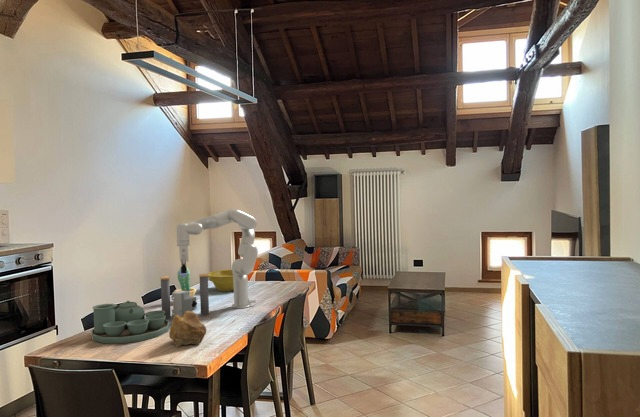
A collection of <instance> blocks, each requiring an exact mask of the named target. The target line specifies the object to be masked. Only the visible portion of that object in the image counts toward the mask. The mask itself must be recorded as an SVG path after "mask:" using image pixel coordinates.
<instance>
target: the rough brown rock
mask: <svg viewBox="0 0 640 417" xmlns="http://www.w3.org/2000/svg"><path fill="white" fill-rule="evenodd" d="M169 328H170V329H169V338H170V339H171V340H172V341H173V344H174V345H175V346H176V347H180V346H183V345H184V346H187V345H189V344H192V345H197V346H198V345H199V344H201V343H202V341H203V339H204V337H205V336H206V335H207V327H206V325H204V324H203V323H202V321H201V319H200V318H199V316H198V315H197V313H196V312H194V311H186V312H184V314H183V316H182V317H180V316H178V315H175V316H174V317H172V321H171V325H170V327H169Z"/></svg>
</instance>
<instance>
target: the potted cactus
mask: <svg viewBox="0 0 640 417" xmlns="http://www.w3.org/2000/svg"><path fill="white" fill-rule="evenodd" d="M186 268H187V273H181V266H180V268H179V269H178V271H177V280H178V282H179V285H180V288H177V289H175V290H174V291H173V292H176V291H189V292H190V297H195V294H196V292H197V289H196V288H192V287H191V283H190V282H191V281H190V280H191V271H190V269H189V268H188V267H187V265H186Z"/></svg>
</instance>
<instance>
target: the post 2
mask: <svg viewBox="0 0 640 417" xmlns="http://www.w3.org/2000/svg"><path fill="white" fill-rule="evenodd" d="M198 276H199V300H200V301H199V302H200V316H208V315H210V305H209V304H210V302H209V278H208V274H207V273H201V274H199V275H198Z"/></svg>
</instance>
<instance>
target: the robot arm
mask: <svg viewBox="0 0 640 417" xmlns="http://www.w3.org/2000/svg"><path fill="white" fill-rule="evenodd" d="M230 223H232V224H233V223H236V224H237V225H238V227H239V228H240V230H241V233H242V235H241V240H240V243H239V246H238V250H237V254H238V256H240V257H241V258H236V259H234V261H233V262H232V265H231V270H232V272H233V281H234V290H233V304H232V305H231V308H233V309H245V308H250V307H251V306H252V304H255V303H256V299H250V298H249V278H248V275H251V273H252V272H253V270H254V269H255V265H256V261H257V258H258V256H259V255H258V253H259V252H258V251H259V250H258V248H257V246H256V245H255V244H254V243H255V238H256V231H255V228H256V227H257V226H258V220H257V219H256V218H255V217H253V216H252V215H249V214H248V213H246V212H244V211H242V210H240V209H237V208H236V209H235V208H233V209H232V208H231V209H227V210H225V211H224V210H223V211H222V212H219V213H216V214H213V215H209V216H205V217H202V218H199V219H196V220H193V221H191V222H188V223H186V222H185V223H177V224H176V247H178V253H179V256H178V257H179V261H180V265H181V266H180V267H181V273H187V268H188V267H187V268H186V266H187V263H188V262H189V246H190V235H193V236H195V235H196V236H199V235H200V234H202V232H203V231H204V230H209V229H210V230H211V229H212V230H213V229H217V228H219V227H223V226H226V225H228V224H230Z"/></svg>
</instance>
